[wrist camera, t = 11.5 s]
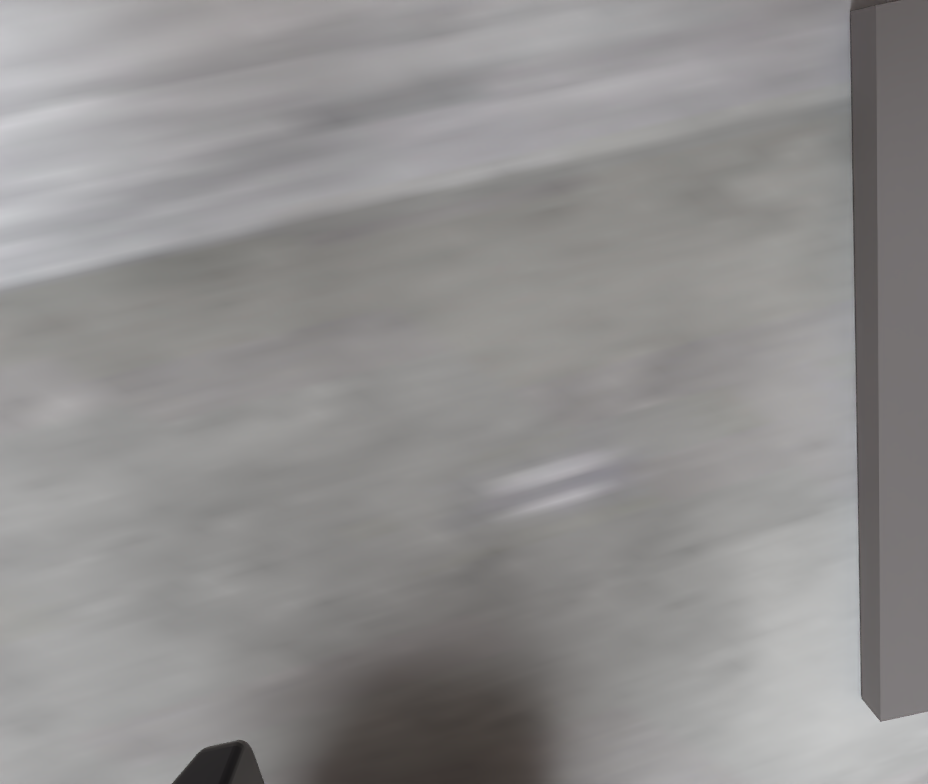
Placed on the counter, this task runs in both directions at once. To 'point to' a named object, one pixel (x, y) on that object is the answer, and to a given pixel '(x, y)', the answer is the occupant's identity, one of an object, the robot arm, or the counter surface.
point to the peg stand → (892, 349)
